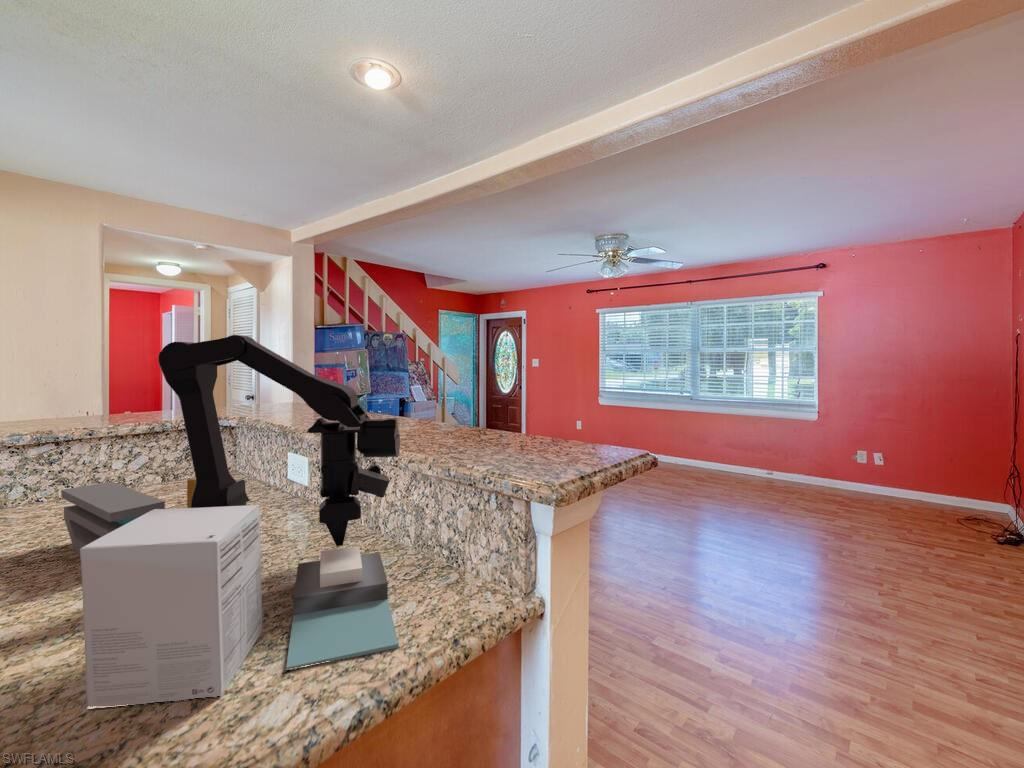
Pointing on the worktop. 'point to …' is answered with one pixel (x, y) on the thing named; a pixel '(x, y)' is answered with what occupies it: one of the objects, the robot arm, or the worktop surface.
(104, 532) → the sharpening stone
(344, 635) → the mat
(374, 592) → the plate
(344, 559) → the tile
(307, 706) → the worktop surface
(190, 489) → the supplement box
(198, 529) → the supplement box
